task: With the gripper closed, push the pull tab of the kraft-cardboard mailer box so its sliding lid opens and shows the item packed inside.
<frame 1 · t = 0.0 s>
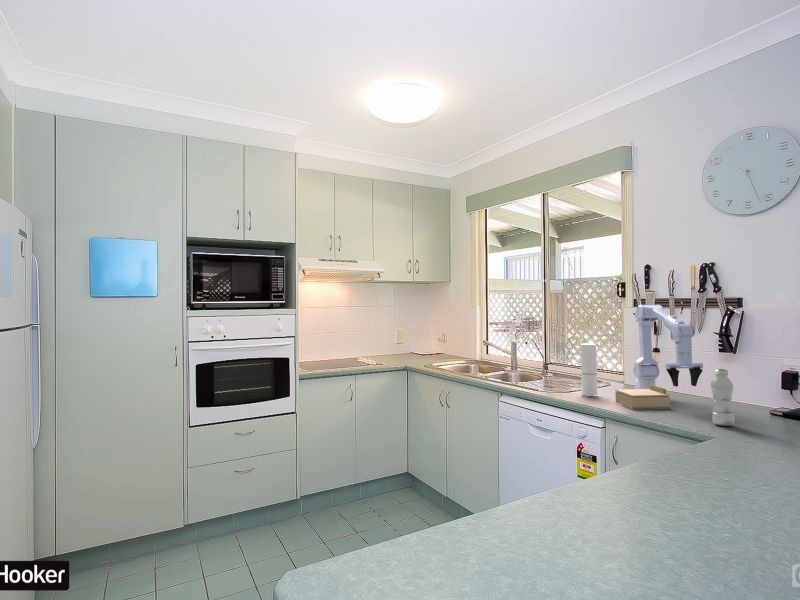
hand: (684, 386, 187), 10 cm above the countertop, tool pointing down, fingers open, 7 cm apart
mailer box: (641, 405, 198), on the countertop
plastic bottle: (723, 426, 163), on the countertop
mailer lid: (641, 390, 198), point 7 cm above the countertop, slide at 0.0 cm
cylindrical container: (589, 395, 223), on the countertop
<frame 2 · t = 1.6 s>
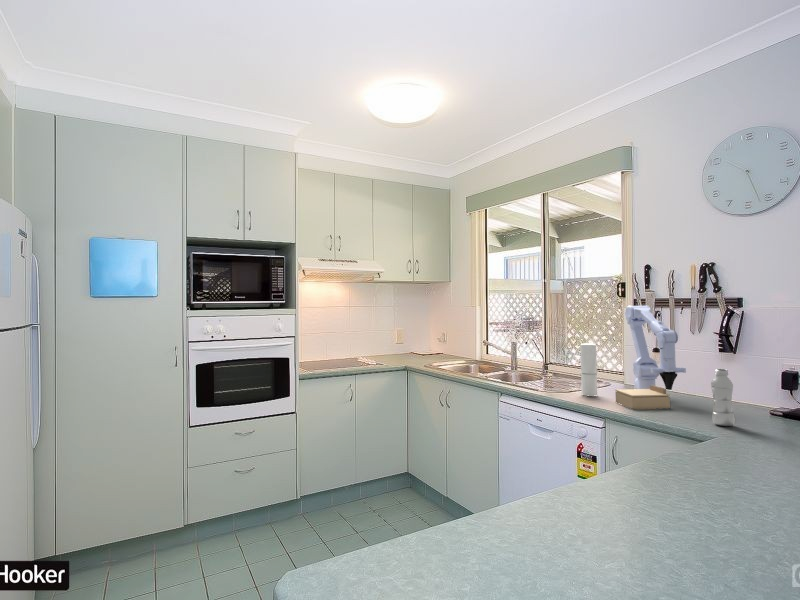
hand: (668, 389, 198), 7 cm above the countertop, tool pointing down, fingers closed
nothing on the countertop moved.
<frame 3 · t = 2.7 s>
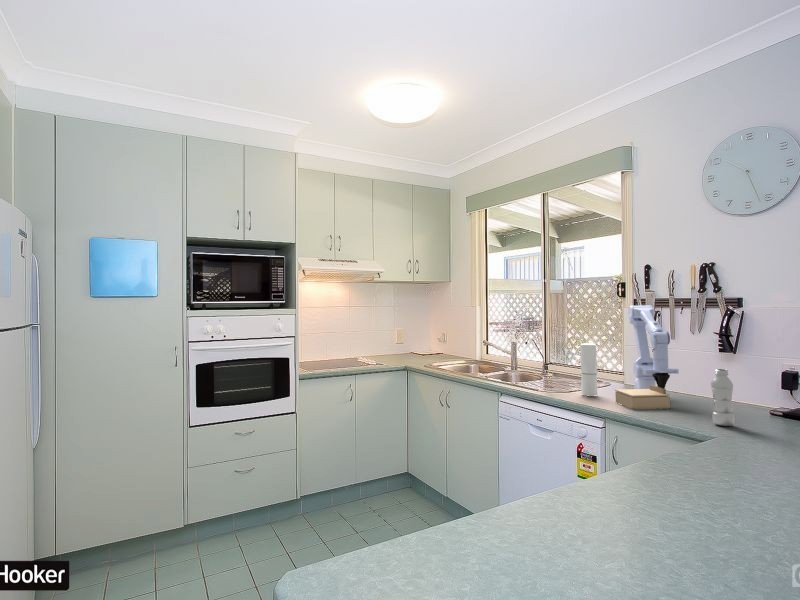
hand: (661, 390, 198), 6 cm above the countertop, tool pointing down, fingers closed
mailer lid: (641, 390, 198), point 7 cm above the countertop, slide at 0.1 cm, touching gripper
everything else where it was.
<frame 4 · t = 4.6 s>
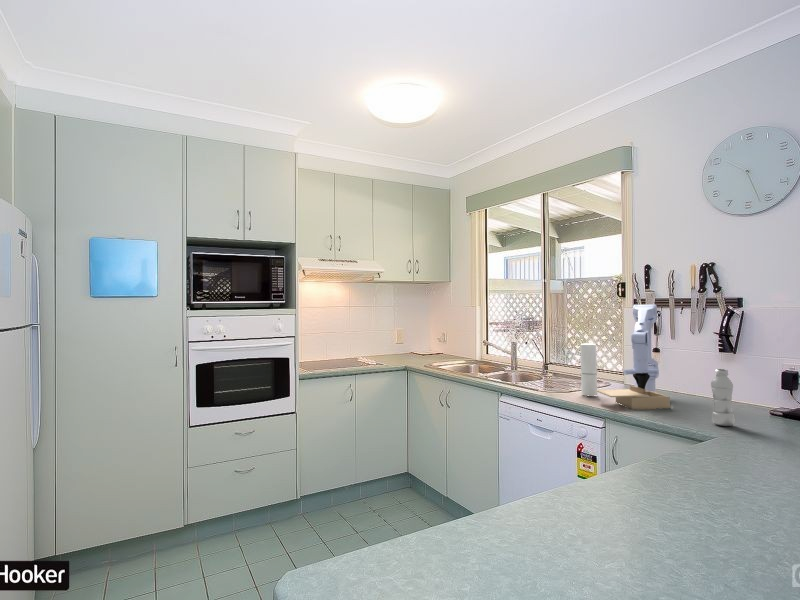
hand: (641, 390, 198), 6 cm above the countertop, tool pointing down, fingers closed
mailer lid: (621, 390, 198), point 7 cm above the countertop, slide at 8.8 cm, touching gripper
everything else where it was.
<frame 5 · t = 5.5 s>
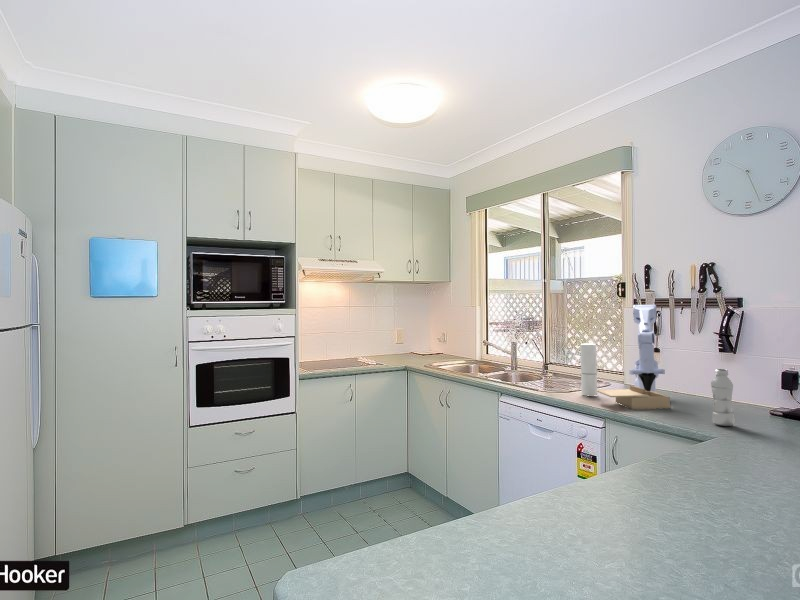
hand: (647, 390, 198), 6 cm above the countertop, tool pointing down, fingers closed
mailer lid: (621, 390, 198), point 7 cm above the countertop, slide at 8.9 cm
everything else where it was.
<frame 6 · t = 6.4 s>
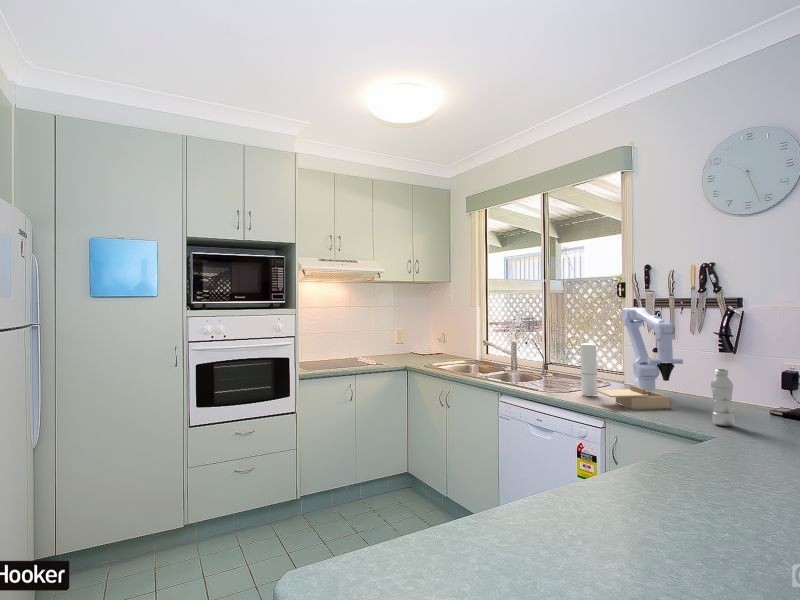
hand: (665, 380, 200), 10 cm above the countertop, tool pointing down, fingers closed
nothing on the countertop moved.
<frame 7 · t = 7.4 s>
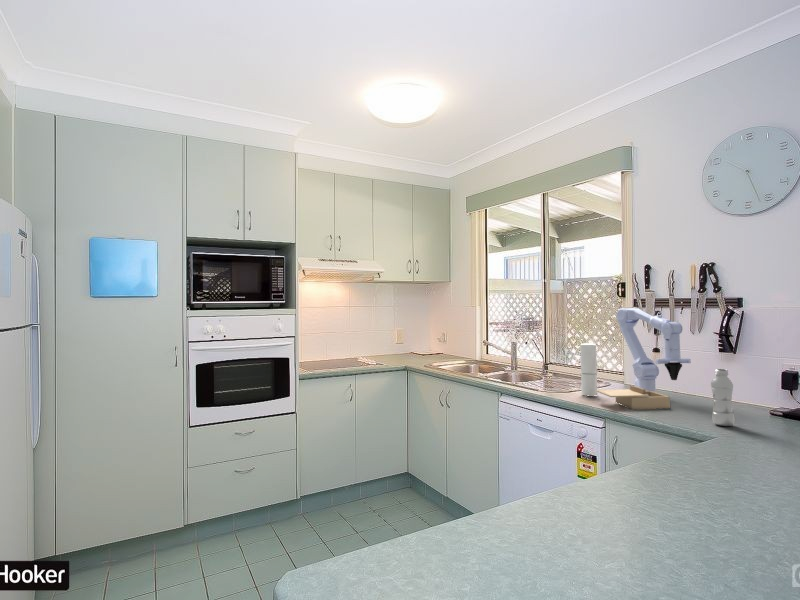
hand: (673, 379, 201), 10 cm above the countertop, tool pointing down, fingers closed
nothing on the countertop moved.
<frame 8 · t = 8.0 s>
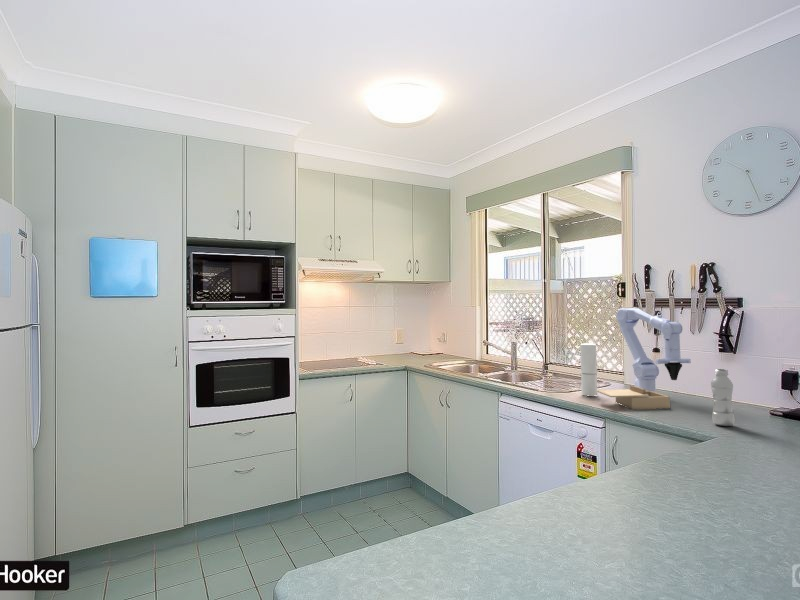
hand: (673, 379, 201), 10 cm above the countertop, tool pointing down, fingers closed
nothing on the countertop moved.
at the end: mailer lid slide at 8.9 cm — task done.
